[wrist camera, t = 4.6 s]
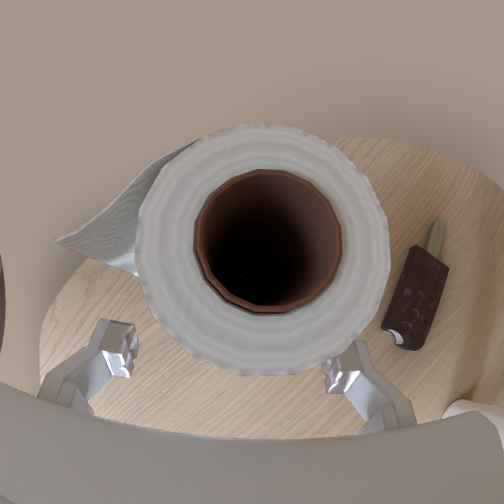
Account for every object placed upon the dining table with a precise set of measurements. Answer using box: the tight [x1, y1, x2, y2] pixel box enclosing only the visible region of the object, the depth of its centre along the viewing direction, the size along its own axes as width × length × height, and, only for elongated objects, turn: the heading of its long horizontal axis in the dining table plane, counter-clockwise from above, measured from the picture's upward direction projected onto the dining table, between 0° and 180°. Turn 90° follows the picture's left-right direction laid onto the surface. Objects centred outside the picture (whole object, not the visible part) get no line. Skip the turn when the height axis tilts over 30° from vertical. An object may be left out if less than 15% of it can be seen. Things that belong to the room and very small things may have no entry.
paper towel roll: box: [55, 123, 391, 376], centre depth 17 cm, size 7×6×21 cm
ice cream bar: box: [381, 219, 449, 351], centre depth 28 cm, size 5×2×15 cm
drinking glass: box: [442, 399, 504, 450], centre depth 19 cm, size 7×7×15 cm
